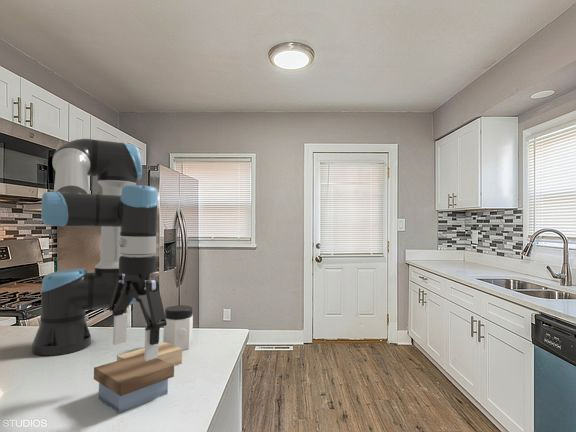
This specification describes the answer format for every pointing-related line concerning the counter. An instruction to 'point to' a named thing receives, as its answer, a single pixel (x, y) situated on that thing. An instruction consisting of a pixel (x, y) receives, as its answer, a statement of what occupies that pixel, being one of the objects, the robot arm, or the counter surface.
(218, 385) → the counter surface
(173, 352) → the tan wooden block
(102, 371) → the lid
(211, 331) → the counter surface
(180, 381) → the counter surface
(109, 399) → the dish
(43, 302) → the robot arm
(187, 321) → the jar
